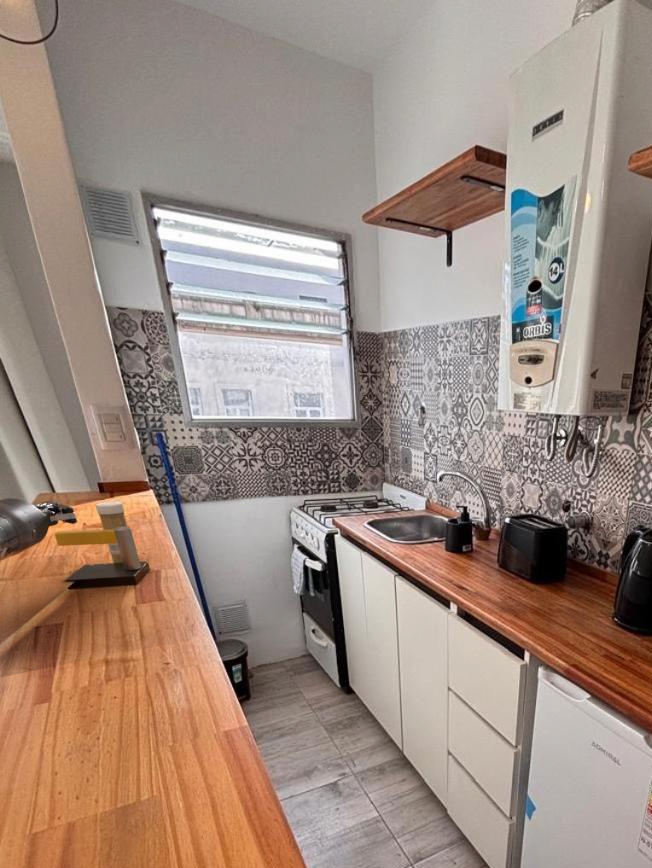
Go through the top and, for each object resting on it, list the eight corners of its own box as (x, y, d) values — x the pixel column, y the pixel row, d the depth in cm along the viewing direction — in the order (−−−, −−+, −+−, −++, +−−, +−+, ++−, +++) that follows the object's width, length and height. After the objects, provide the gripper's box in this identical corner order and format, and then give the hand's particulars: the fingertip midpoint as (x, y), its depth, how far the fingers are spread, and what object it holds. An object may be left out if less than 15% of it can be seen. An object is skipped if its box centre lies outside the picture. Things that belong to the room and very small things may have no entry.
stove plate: (67, 589, 97) (64, 579, 97) (87, 573, 106) (84, 564, 105) (136, 584, 101) (134, 575, 100) (150, 569, 109) (147, 560, 108)
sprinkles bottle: (143, 564, 112) (127, 501, 106) (127, 570, 108) (109, 505, 102) (125, 562, 113) (108, 500, 107) (108, 568, 109) (89, 504, 103)
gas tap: (65, 574, 99) (52, 532, 96) (71, 569, 102) (58, 529, 98) (138, 570, 103) (128, 529, 99) (142, 565, 105) (132, 526, 102)
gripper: (48, 501, 77) (90, 484, 92) (-61, 504, 74) (1, 486, 89) (64, 550, 81) (102, 526, 96) (-39, 555, 77) (17, 529, 92)
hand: (53, 507), depth 92 cm, fingers closed
